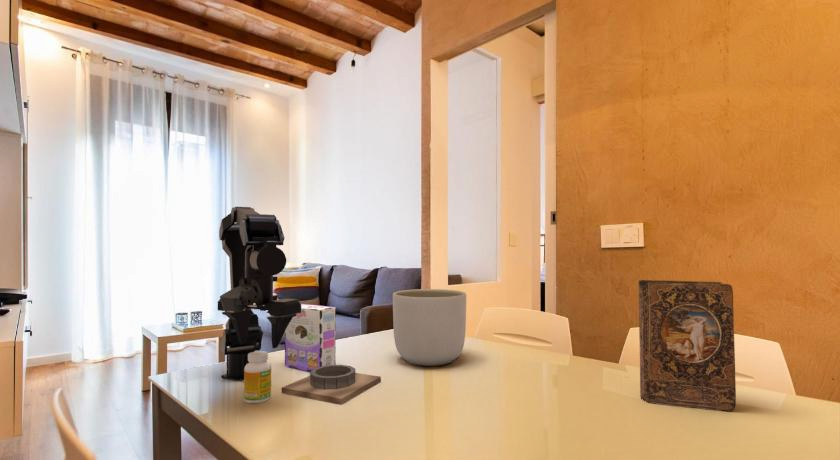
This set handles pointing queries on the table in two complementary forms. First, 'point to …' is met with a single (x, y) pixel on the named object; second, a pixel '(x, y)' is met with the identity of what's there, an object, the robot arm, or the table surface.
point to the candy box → (311, 338)
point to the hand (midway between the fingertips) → (258, 345)
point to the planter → (429, 325)
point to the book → (687, 344)
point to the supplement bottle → (257, 378)
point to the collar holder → (332, 384)
